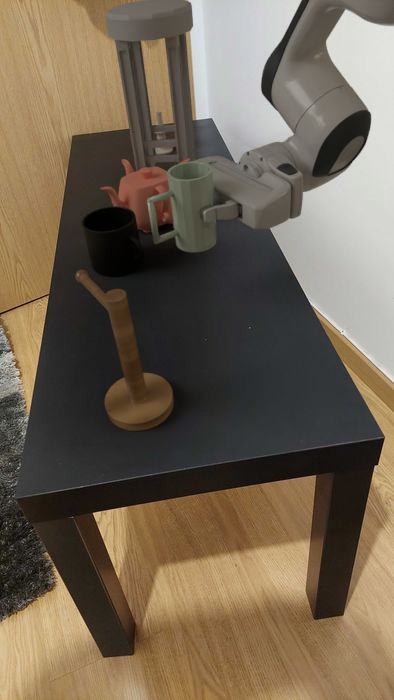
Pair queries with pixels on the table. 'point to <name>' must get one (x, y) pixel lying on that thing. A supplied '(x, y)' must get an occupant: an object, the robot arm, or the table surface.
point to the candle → (161, 137)
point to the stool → (128, 31)
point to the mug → (113, 240)
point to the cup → (187, 207)
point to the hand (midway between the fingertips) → (187, 206)
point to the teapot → (143, 194)
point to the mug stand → (130, 369)
